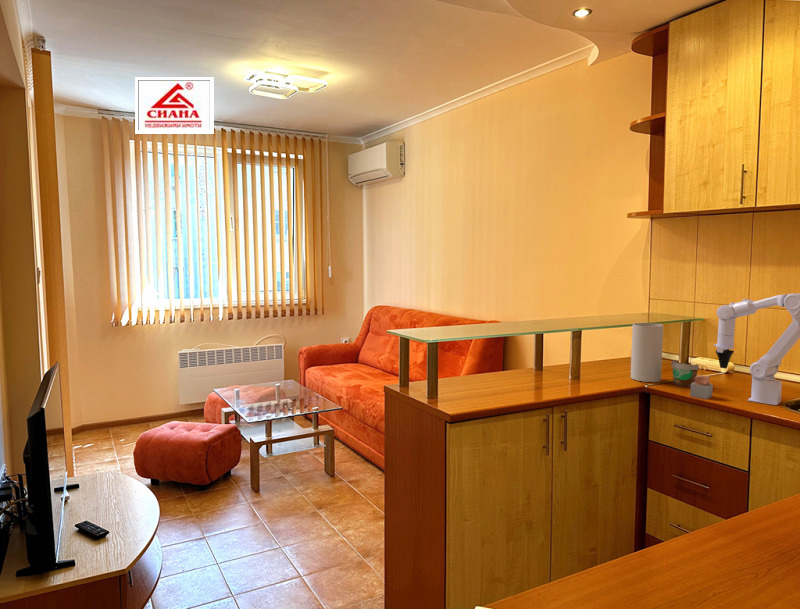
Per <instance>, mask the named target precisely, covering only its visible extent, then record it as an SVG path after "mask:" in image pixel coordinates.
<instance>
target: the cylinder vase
mask: <svg viewBox="0 0 800 609" xmlns="http://www.w3.org/2000/svg"><path fill="white" fill-rule="evenodd" d="M631 329H632V330H631V332H632V333H631V335H632V336H631V356H630V358H631V360H630V379H631V378H632V379H631V380H633V379H634V380H633V381H635V380H638V381H637V382H639V381H642V382H641V383H648V382H654V383H659V382H661V380H662V365H663V359H662V358H663V342H664V340H663V338H664V325H663V324H660V323H653V322H636V323H634V322H633V323H632V328H631Z"/></svg>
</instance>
